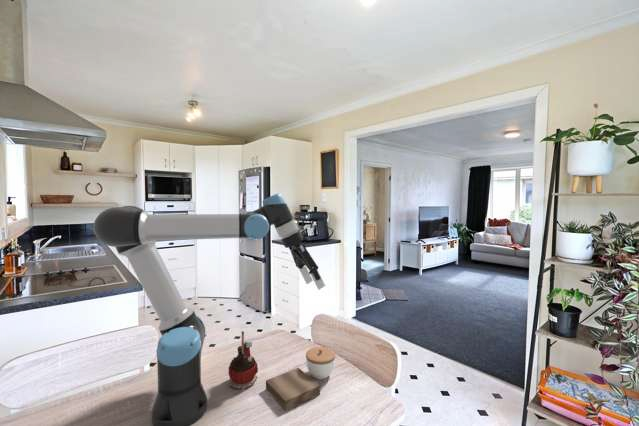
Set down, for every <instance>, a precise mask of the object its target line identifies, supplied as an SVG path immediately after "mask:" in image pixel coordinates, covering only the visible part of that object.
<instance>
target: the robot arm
mask: <svg viewBox="0 0 639 426" xmlns="http://www.w3.org/2000/svg"><path fill="white" fill-rule="evenodd" d="M297 224H298V222H297V220H295V219H294V217H293V215H292V212H291V210H290V208H289V206H288V204H287V202H286V200H285V198H284V197H283V195H282V194H281V193H278V192H277V193H275V194H273V195H271V196H269V197H267V198H265V199H263V200H262V206H260V207H259V208H257V209H255V210H253V211H251V212H248V213H237V214H236V213H235V214H234V213H220V214H219V213H215V214H214V213H211V214H209V213H207V214H206V213H201V214H199V213H195V214H194V213H193V214H192V213H190V214H188V213H187V214H186V213H185V214H184V213H183V214H181V213H180V214H178V213H177V214H171V213H170V214H149V213H148V212H147V211H146V210H144V209H143V208H140V207H139V206H138V207H137V206H134V205H125V206H124V205H123V206H115V207H110V208H107V209H104V210H102V212H100V213H99V214H98V215H97V217H96V218H95V220H94V222H93V233H94V235H95V237H96V239H97V240H98V241H100V243H102V244H103V245H106V246H109V247H113V248H115V249H116V252H117V253H118V255H120V256H123V257H125V258H127V260H128V262H129V264H130V265H131V267H132V269H133V271H134V273H135V275H136V278H137V279H138V281H139V283H140V284H141V287H142V288H143V291H144V292H145V295H146V296H147V298H148V300H149V302H150V304H151V306H152V308H153V310H154V311H155V313H156V315H157V318H158V319H159V321H160V323H159V325H158V331H159V333H160V334H161V337H160V338H159V339H158V342H157V347H156V359H157V361H156V362H157V364H156V365H157V367H156V368H157V393H156V397H155V400H154V403H153V407H152V409H151V423H152V425H153V426H191V425H192V424H194V423H195V422H197V421H198V420H200V419H201V418H202V417H203V416H204V414H205V413H206V411H207V409H208V396H207V393H206V391H205V387H204V386H203V383H202V376H201V375H202V368H201V367H202V366H201V365H202V364H201V363H202V361H201V359H202V352H203V351H202V350H203V347H204V341H205V338H206V327H205V323H204V321H203V320H202V319H201V318H200V316H198V315H197V314H196V313H195V310H194V308H191V307H187V305H186V303H185V302H184V299H183V298H182V296H181V294H180V291H179V290H178V287H177V286H176V284H175V282H174V279H173V277H172V276H171V273H170V271H169V270H168V268H167V266H166V264H165V262H164V260H163V258H162V256H161V254H160V252H159V250H158V248H157V246H156V243H157V241H181V240H182V241H183V240H184V241H189V240H215V239H216V240H218V239H224V240H225V239H251V240H260V239H264V237H266V236H267V235H268V233H269V231H270V227H271V226H274V229H275V230H276V232H277V235H278V237H279V238H281V243H282V244H283V246H284V248H286V249H289V251H290V254H291V255H292V259H293V261H294V264H295V267H297V269H299V272H300V273H301V274H300V275H301V276H302V277H303V279H304V282H305V283H306V285H308V284H311V282H314V283H315V286H316V288H317V289H318V290H319V291H320V290H321V289H322V288H324V287H326V284H325V282H324V280H323V278H322V276H321V274H320V272H319V270H318V269H319V265H318V264H317V263H316V262H315V260H314V258H313V257H312V255H311V254H310V252H309V251H308V249H307V247H306V245H305V244H301V242H302V241H304V236H303V234H302V233H301V230H299V226H298V225H297Z"/></svg>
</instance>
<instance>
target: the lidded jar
mask: <svg viewBox="0 0 639 426" xmlns="http://www.w3.org/2000/svg"><path fill="white" fill-rule="evenodd" d="M305 361H306V363H305V364H306V367H307V370H308V372H309V373H310V375H311V376H312V378H313V379H317V380H325V379H327V378H328V377H330V375H331V374H332V372H333V371H334V368H335V364H336V352H335V351H334V350H333V349H332V348H329V347H326V346H314V347H312V348H310V349H307V350H306V353H305Z"/></svg>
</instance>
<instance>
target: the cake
mask: <svg viewBox="0 0 639 426" xmlns="http://www.w3.org/2000/svg"><path fill="white" fill-rule="evenodd" d="M252 347H253V343H252V340H246V341H245V331H244V330H241V345H239V346H237V356H235V357H233V358H232V359H231V361H230V363H229V366H228V376H229V379H228V384H229V386H230V387H231V386H232V388H235V389H240V388H241V389H246V388H249V387H251V386H252V385H254V384H255V383H256V382H257V379H258V376H257V374H258V371H259V370H258V363H257V361H256V360H255V358H254V356H252V354H251V348H252Z"/></svg>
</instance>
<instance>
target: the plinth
mask: <svg viewBox="0 0 639 426" xmlns="http://www.w3.org/2000/svg"><path fill="white" fill-rule="evenodd" d="M265 390H266V391H267V392H268V393H269V394H270V395H271V396H272V398H273V400H275V401H276V402H277V403H278V404H279V405H280V406H281V407H282V409H284V411H286V412H287V411H289V410H291V409H292V408H294V407H296V406H298V405H301V404H302V403H305V402H307V401H309V400H311V399H313V398H315V397H317V396H319V395H320V394H321V385H320V384H319V383H318V382H317V381H315V380H314V378H313V377H310V375H308V374H307V373H306V372H305V371H303V370H302V369H300V368H299V367H296V368H293V369H292V370H289V371H286V372H284V373H281V374H279V375H276V376H274V377H270V378H269V379H266V380H265Z"/></svg>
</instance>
